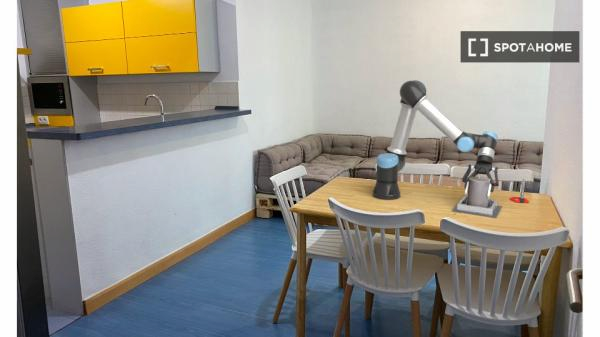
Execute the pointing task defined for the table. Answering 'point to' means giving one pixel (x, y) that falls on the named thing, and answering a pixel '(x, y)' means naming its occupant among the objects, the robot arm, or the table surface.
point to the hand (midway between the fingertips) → (477, 195)
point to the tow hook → (521, 198)
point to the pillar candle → (478, 191)
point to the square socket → (478, 208)
